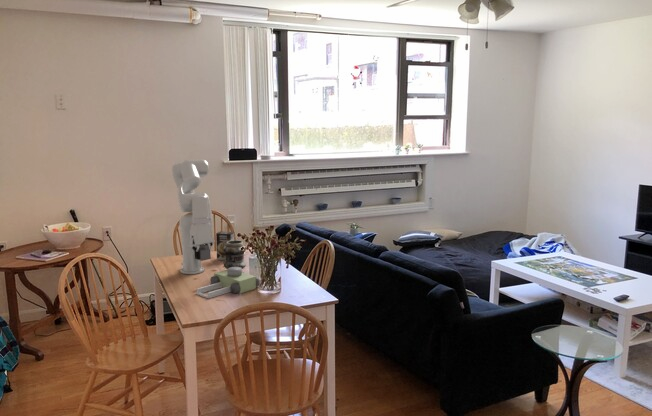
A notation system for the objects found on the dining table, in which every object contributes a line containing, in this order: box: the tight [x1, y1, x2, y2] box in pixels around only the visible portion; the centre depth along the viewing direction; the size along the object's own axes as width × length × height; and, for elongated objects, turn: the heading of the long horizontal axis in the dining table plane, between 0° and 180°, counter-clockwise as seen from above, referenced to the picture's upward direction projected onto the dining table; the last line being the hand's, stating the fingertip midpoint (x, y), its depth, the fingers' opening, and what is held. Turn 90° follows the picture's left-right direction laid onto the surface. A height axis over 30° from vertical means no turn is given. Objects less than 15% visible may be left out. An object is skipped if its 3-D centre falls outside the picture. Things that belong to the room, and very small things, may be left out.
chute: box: [194, 244, 212, 262], centre depth 248 cm, size 6×5×7 cm
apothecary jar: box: [223, 239, 247, 273], centre depth 274 cm, size 12×12×18 cm
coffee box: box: [215, 230, 235, 261], centre depth 305 cm, size 9×6×16 cm
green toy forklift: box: [195, 267, 261, 299], centre depth 250 cm, size 21×26×9 cm
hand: (202, 257), depth 248 cm, fingers closed on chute, 5 cm apart
